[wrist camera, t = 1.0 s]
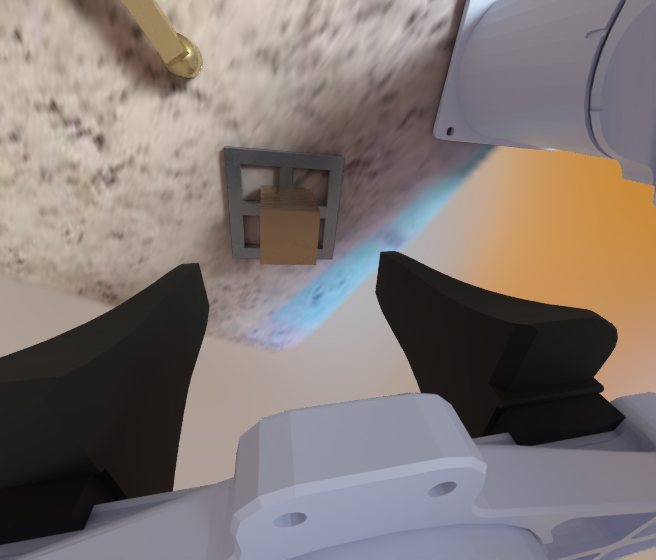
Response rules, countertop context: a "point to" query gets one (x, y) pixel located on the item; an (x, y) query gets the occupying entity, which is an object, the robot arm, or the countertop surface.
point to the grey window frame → (284, 207)
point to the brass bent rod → (166, 38)
